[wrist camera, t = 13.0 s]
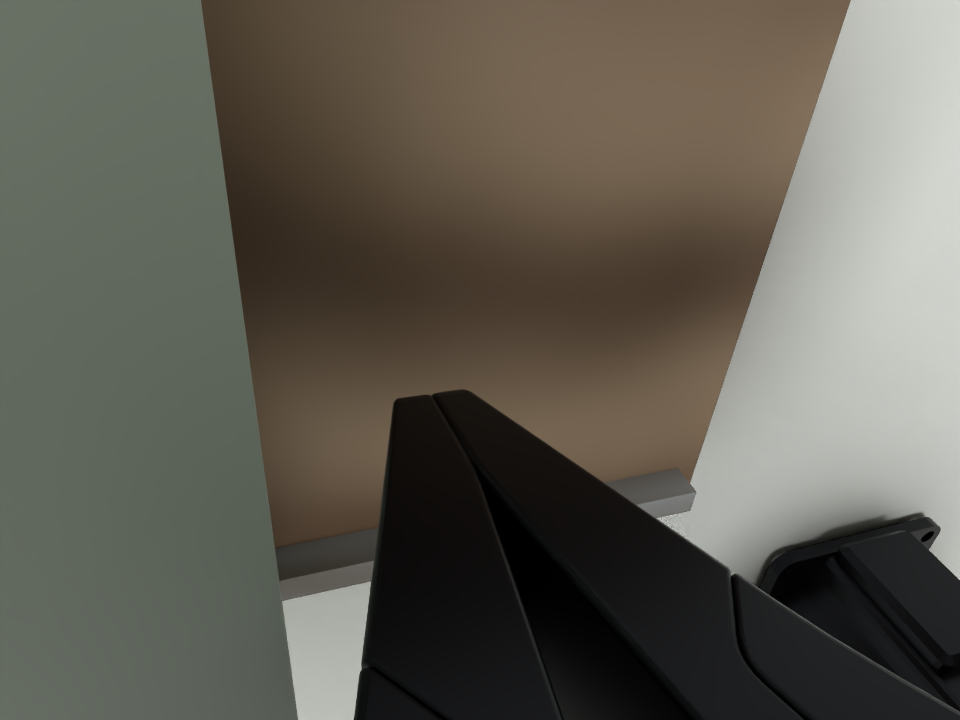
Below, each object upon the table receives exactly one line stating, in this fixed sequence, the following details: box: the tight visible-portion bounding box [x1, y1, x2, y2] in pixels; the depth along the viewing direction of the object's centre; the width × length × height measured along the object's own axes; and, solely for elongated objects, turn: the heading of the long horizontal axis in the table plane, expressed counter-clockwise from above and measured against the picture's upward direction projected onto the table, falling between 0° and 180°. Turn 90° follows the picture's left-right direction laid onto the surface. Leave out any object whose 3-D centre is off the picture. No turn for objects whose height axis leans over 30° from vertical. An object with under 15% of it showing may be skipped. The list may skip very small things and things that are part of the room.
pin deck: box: [201, 0, 851, 601], centre depth 10 cm, size 14×22×2 cm, turn 86°
